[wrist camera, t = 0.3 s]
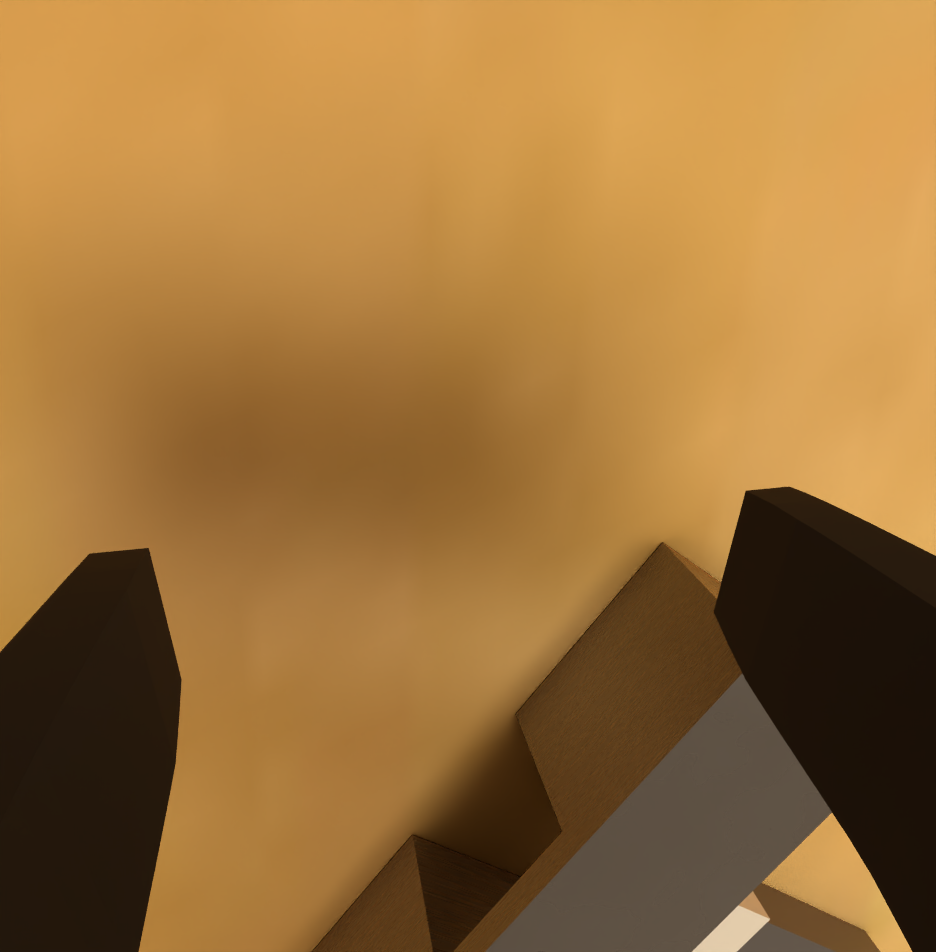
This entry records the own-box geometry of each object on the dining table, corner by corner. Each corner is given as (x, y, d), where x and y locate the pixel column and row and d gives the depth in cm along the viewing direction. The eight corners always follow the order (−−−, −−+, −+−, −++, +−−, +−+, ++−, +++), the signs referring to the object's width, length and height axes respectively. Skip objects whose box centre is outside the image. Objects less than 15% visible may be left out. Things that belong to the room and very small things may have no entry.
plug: (817, 974, 34) (869, 1056, 30) (577, 877, 28) (612, 967, 25) (880, 915, 33) (940, 993, 30) (647, 802, 27) (692, 885, 24)
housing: (427, 1012, 29) (455, 1187, 24) (291, 975, 26) (291, 1160, 21) (784, 626, 25) (903, 741, 20) (662, 542, 22) (764, 648, 18)
